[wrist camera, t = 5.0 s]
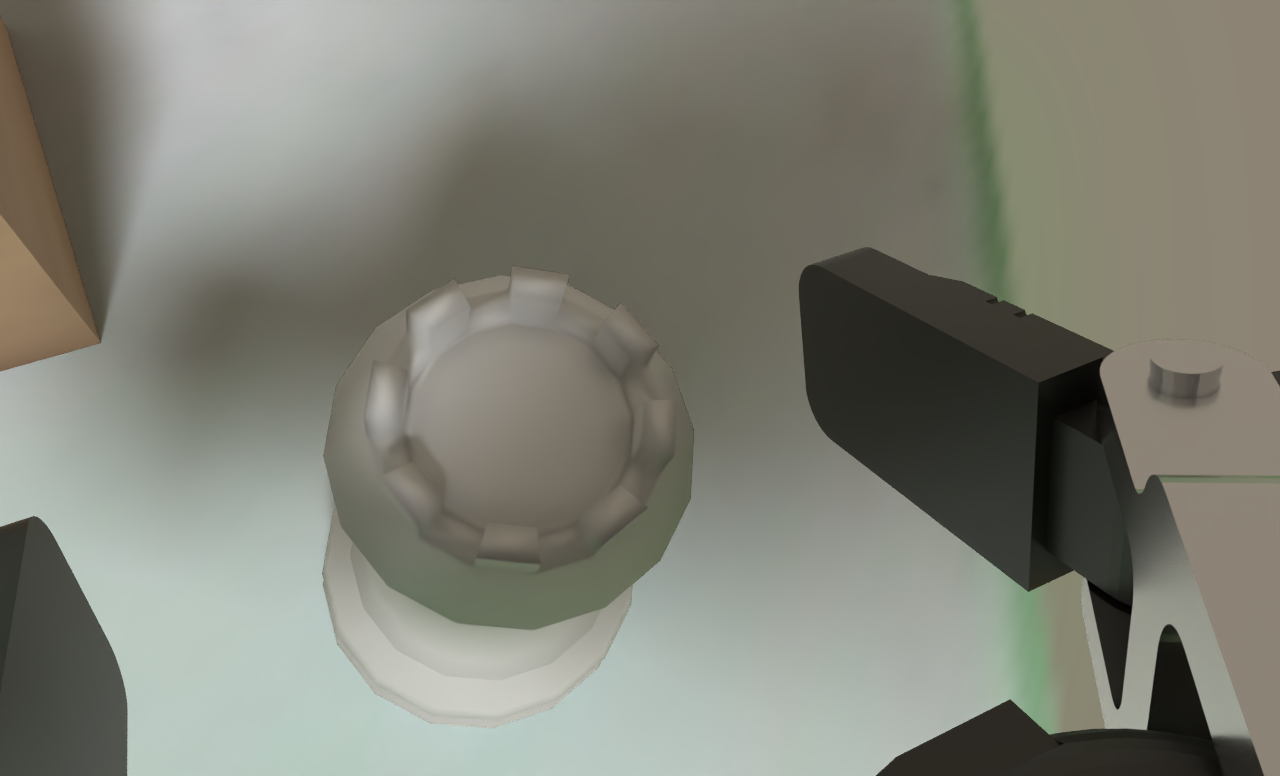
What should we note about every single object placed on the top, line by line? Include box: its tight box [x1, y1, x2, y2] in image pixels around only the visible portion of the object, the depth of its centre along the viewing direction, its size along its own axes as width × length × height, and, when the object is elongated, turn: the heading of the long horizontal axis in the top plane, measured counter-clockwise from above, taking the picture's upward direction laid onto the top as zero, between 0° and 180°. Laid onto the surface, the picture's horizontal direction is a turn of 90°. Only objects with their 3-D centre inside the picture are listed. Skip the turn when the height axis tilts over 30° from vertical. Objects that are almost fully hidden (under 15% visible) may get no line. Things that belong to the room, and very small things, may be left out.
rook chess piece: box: [322, 266, 694, 728], centre depth 12 cm, size 4×4×8 cm
